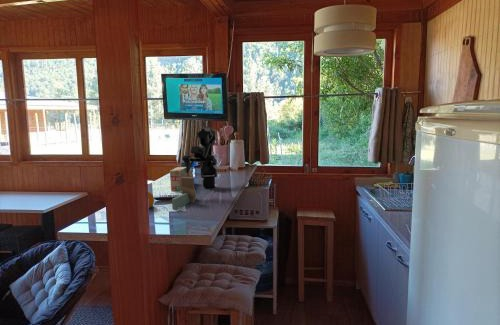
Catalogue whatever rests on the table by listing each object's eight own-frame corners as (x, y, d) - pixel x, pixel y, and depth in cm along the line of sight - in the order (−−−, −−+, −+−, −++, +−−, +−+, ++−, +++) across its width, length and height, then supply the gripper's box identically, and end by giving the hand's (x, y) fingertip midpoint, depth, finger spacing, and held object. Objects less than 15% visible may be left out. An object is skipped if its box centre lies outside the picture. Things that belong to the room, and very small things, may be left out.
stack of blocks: (184, 183, 236) (182, 164, 234) (193, 183, 235) (192, 164, 233) (171, 191, 215) (169, 170, 213) (181, 191, 214) (179, 170, 212)
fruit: (146, 212, 173) (144, 191, 171) (124, 211, 176) (122, 190, 175) (159, 205, 184) (157, 185, 182) (138, 204, 187) (137, 185, 186)
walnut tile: (185, 201, 190) (183, 177, 188) (195, 201, 188) (193, 177, 186) (183, 202, 188) (181, 178, 186) (193, 202, 186) (191, 178, 184)
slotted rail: (193, 198, 194) (193, 189, 193) (196, 199, 193) (195, 189, 192) (172, 209, 175) (171, 198, 175) (175, 209, 175) (174, 199, 174)
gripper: (182, 140, 201) (172, 163, 192) (213, 140, 194) (204, 164, 185) (190, 153, 209) (181, 175, 200) (220, 153, 202) (212, 176, 194)
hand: (194, 173), depth 195 cm, fingers open, 9 cm apart
